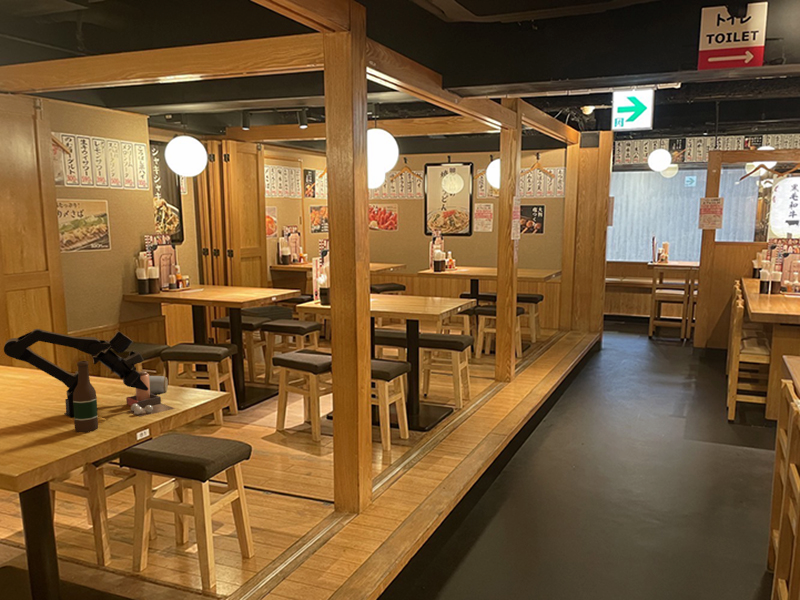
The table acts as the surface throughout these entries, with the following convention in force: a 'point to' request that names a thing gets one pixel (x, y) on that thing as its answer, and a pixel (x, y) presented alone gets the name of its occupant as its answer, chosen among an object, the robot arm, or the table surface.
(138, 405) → the pebble
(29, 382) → the table surface
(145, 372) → the canister
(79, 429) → the beer bottle
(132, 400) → the lacquer box
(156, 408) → the board
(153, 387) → the ceramic mug
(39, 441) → the table surface
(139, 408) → the pebble
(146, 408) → the pebble
